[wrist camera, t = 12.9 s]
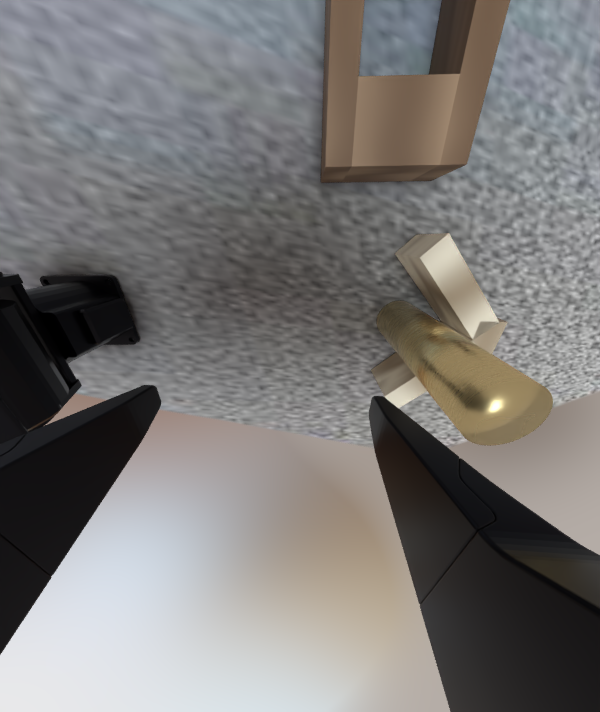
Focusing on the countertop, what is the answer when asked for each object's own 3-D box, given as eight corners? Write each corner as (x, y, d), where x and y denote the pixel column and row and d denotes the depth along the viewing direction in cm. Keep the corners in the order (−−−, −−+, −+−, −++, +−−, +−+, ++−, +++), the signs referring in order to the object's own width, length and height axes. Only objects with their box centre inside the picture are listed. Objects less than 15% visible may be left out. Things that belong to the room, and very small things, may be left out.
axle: (368, 324, 21) (442, 423, 10) (396, 292, 20) (519, 366, 8) (396, 343, 22) (492, 455, 11) (423, 314, 21) (570, 408, 9)
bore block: (320, 182, 16) (325, 166, 13) (329, -129, 11) (341, -313, 7) (430, 180, 16) (466, 164, 13) (498, -137, 10) (596, -328, 7)
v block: (368, 381, 24) (381, 408, 20) (398, 234, 18) (426, 232, 14) (438, 383, 24) (464, 411, 20) (493, 236, 18) (549, 236, 14)
